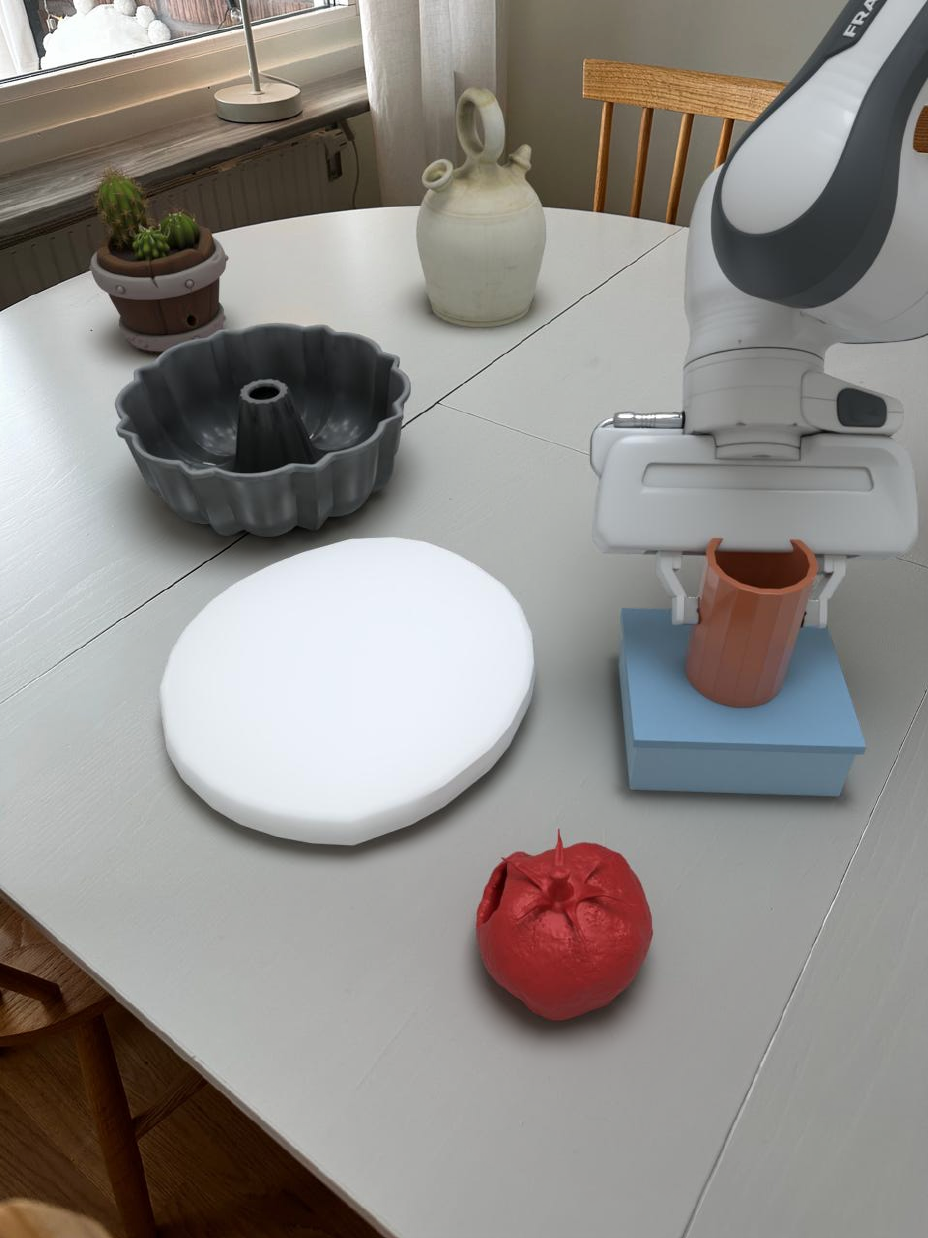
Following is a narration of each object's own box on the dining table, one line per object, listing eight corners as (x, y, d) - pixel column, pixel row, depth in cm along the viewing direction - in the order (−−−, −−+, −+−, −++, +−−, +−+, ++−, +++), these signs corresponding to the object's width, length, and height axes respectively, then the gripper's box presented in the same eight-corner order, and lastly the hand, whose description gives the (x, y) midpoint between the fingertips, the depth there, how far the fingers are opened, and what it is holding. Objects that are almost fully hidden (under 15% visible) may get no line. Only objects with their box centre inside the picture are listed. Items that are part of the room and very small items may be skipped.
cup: (773, 639, 69) (805, 526, 62) (791, 709, 64) (828, 595, 57) (679, 637, 69) (700, 524, 62) (690, 706, 64) (714, 592, 58)
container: (805, 670, 75) (823, 612, 71) (843, 804, 66) (867, 747, 62) (613, 665, 76) (621, 607, 72) (624, 797, 66) (634, 739, 62)
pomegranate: (679, 971, 57) (703, 884, 51) (545, 1073, 53) (553, 992, 47) (570, 854, 63) (579, 763, 57) (442, 937, 59) (437, 849, 53)
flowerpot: (264, 324, 119) (236, 150, 105) (183, 381, 109) (140, 197, 96) (171, 301, 124) (132, 132, 111) (85, 353, 114) (31, 175, 101)
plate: (363, 890, 56) (67, 697, 68) (379, 939, 61) (100, 751, 72) (606, 588, 70) (328, 472, 82) (604, 647, 75) (341, 529, 87)
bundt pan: (420, 560, 85) (415, 463, 79) (115, 577, 84) (83, 480, 78) (411, 404, 105) (406, 316, 98) (163, 416, 104) (141, 328, 97)
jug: (434, 344, 115) (426, 112, 98) (408, 289, 126) (397, 72, 109) (558, 328, 117) (571, 100, 100) (523, 276, 128) (529, 62, 111)
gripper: (595, 398, 61) (590, 620, 60) (930, 403, 60) (928, 629, 59) (586, 422, 67) (582, 624, 66) (890, 427, 66) (888, 632, 66)
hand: (748, 626), depth 63 cm, fingers closed on cup, 7 cm apart
